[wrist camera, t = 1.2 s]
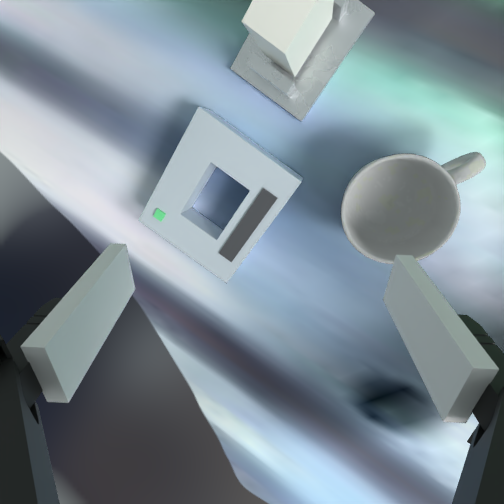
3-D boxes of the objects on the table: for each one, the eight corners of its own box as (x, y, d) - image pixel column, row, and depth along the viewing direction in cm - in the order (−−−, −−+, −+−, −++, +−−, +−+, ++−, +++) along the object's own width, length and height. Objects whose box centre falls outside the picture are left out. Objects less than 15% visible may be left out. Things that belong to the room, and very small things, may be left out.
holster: (373, 15, 32) (382, -4, 28) (301, 121, 37) (299, 119, 33) (294, -45, 32) (290, -74, 28) (232, 70, 37) (219, 60, 32)
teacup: (355, 253, 41) (363, 279, 33) (324, 175, 38) (324, 183, 31) (475, 211, 36) (514, 230, 29) (448, 120, 34) (483, 114, 27)
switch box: (303, 178, 39) (301, 182, 35) (234, 271, 45) (225, 284, 41) (210, 109, 39) (197, 106, 35) (153, 213, 45) (136, 221, 41)
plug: (331, 25, 33) (336, -33, 22) (296, 80, 35) (284, 53, 24) (300, 1, 33) (289, -70, 21) (266, 58, 35) (241, 21, 24)
